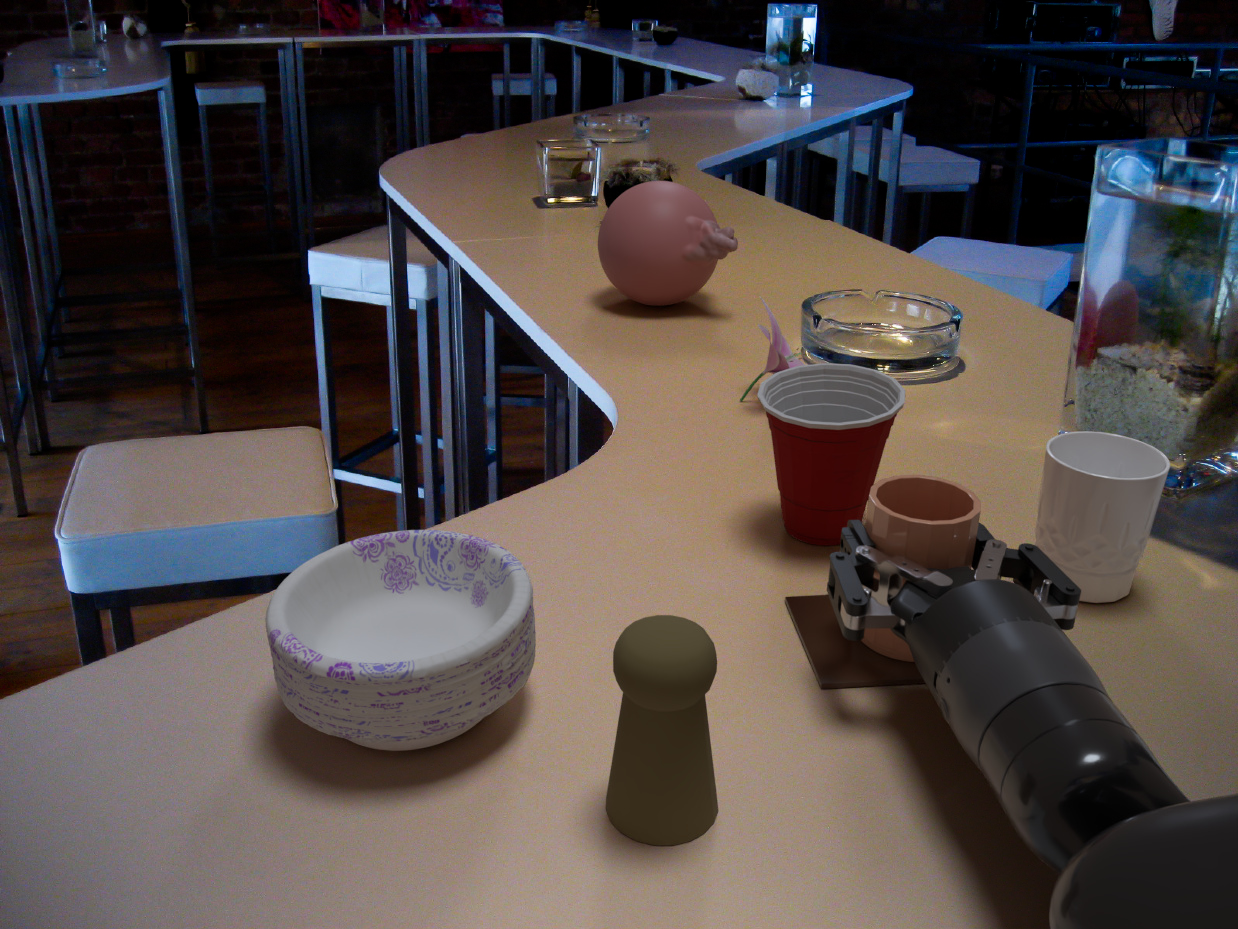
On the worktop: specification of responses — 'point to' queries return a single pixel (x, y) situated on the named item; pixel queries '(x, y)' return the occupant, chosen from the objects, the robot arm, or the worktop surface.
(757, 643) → the worktop surface
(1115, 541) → the white cup
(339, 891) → the worktop surface
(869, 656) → the walnut mat
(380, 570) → the paper bowls
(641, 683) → the olive peg doll
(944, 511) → the peach cup
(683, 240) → the balloon
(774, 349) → the lily
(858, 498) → the plastic cup
